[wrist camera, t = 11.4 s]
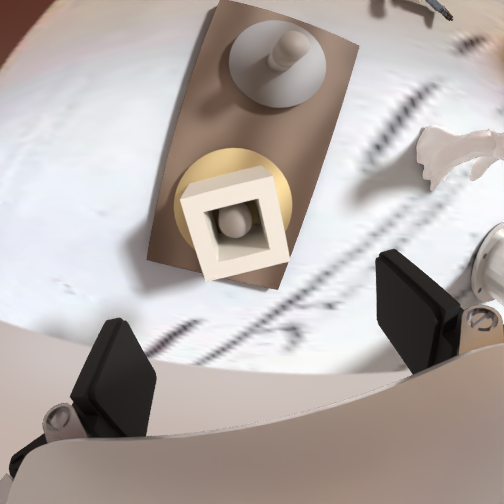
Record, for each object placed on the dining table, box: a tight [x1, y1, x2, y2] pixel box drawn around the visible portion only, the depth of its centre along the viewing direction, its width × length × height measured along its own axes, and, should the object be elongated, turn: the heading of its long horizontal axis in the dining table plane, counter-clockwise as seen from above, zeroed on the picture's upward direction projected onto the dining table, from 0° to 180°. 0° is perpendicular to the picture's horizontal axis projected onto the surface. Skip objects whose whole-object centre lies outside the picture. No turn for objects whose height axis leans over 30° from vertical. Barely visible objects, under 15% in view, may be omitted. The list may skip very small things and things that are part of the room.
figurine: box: [416, 124, 504, 191], centre depth 21 cm, size 8×8×12 cm
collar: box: [180, 166, 290, 282], centre depth 22 cm, size 6×6×6 cm
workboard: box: [147, 0, 359, 290], centre depth 22 cm, size 13×25×8 cm, turn 163°
